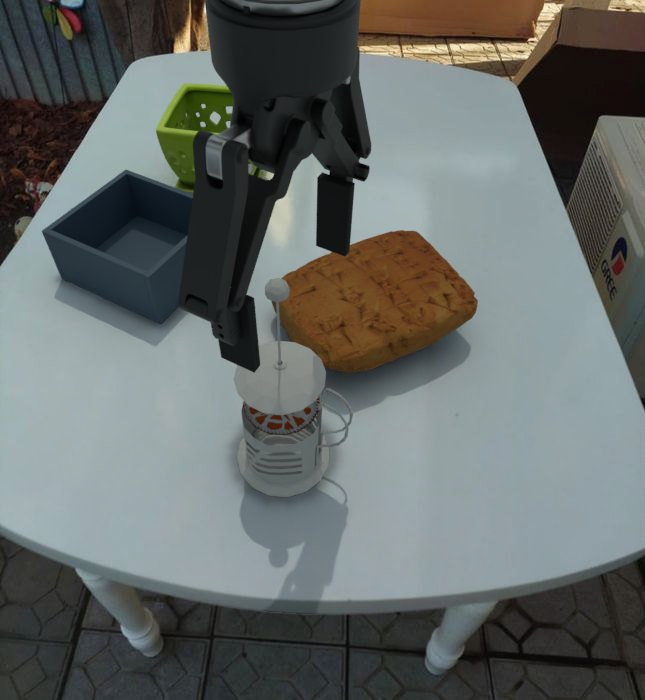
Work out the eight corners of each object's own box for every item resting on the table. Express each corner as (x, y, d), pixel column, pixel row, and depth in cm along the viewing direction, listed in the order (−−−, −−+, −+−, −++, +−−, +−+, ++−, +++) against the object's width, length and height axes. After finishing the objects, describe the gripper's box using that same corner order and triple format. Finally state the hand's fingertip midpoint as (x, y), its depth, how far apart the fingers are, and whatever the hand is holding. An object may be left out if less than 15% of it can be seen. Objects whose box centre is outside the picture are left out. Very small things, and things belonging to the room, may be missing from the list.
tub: (61, 278, 78) (41, 230, 72) (138, 216, 87) (125, 169, 81) (161, 324, 73) (148, 277, 67) (231, 253, 82) (225, 206, 76)
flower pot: (194, 155, 98) (182, 80, 88) (275, 165, 97) (273, 89, 87) (167, 205, 89) (151, 127, 79) (257, 216, 88) (252, 138, 78)
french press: (255, 406, 66) (237, 228, 47) (355, 431, 64) (380, 257, 45) (222, 482, 60) (186, 313, 41) (332, 513, 58) (349, 351, 39)
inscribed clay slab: (407, 260, 83) (415, 214, 76) (479, 344, 73) (495, 298, 67) (261, 307, 76) (258, 260, 70) (319, 406, 66) (321, 362, 60)
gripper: (187, 122, 20) (240, 447, 36) (449, -70, 34) (402, 225, 50) (23, 68, 22) (143, 398, 38) (334, -91, 36) (324, 198, 52)
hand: (290, 300), depth 44 cm, fingers open, 13 cm apart
